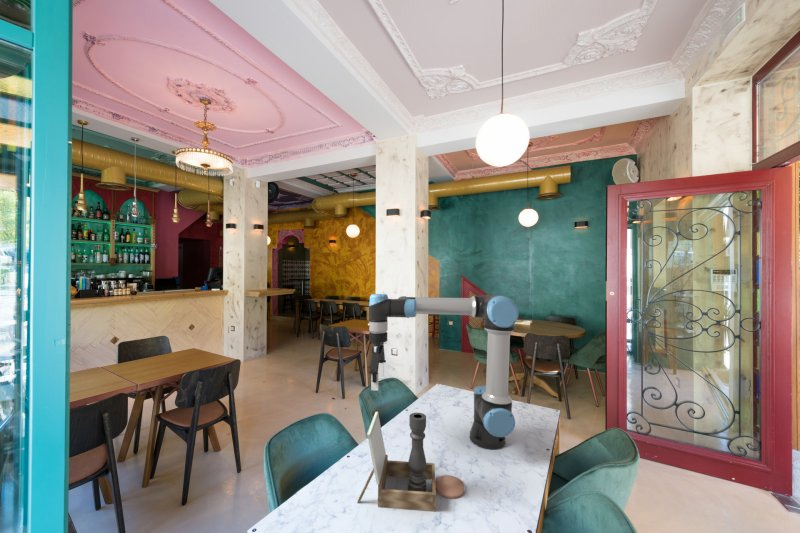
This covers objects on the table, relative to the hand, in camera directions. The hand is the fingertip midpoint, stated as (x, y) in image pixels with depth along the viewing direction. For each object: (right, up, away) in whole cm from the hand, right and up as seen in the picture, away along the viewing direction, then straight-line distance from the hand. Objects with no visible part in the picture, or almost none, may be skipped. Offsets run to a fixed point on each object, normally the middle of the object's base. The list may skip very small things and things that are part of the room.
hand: (377, 384), depth 125 cm
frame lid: (+1, -21, -21) cm, 29 cm away
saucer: (+26, -28, -20) cm, 43 cm away
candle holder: (+15, -28, -22) cm, 39 cm away
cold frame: (+8, -28, -22) cm, 36 cm away
